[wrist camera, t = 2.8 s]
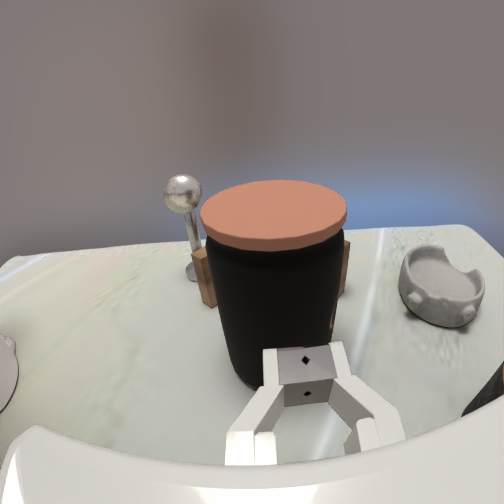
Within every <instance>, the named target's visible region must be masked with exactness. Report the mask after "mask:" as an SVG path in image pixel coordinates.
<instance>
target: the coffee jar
mask: <svg viewBox="0 0 504 504" xmlns="http://www.w3.org/2000/svg"><path fill="white" fill-rule="evenodd" d="M346 216H347V207H346V201H344V199H343V198H342V197H341V196H340V195H339V194H338V193H336V192H334V191H332V190H331V189H329V188H327V187H324V186H320V185H317V184H313V183H309V182H302V181H295V180H268V181H257V182H252V183H247V184H242V185H238V186H235V187H232V188H229V189H227V190H223V191H222V192H220V193H218V194H216V195H214V196H212V197H211V198H210V199H209V200H208V201H207V202H205V203H204V204H203V205H202V209H201V212H200V219H201V223H202V226H203V228H204V229H205V231H206V234H207V239H206V247H205V248H206V253H207V258H208V263H209V268H210V273H211V278H212V282H213V287H214V291H215V296H216V301H217V305H218V309H219V314H220V318H221V322H222V327H223V331H224V335H225V339H226V343H227V347H228V351H229V355H230V359H231V362H232V364H233V367H234V369H235V371H236V373H237V374H238V375H239V376H240V377H241V378H242V379H243V380H244V381H245V382H247V383H249V384H251V385H253V386H255V387H257V388H259V387H260V386H264V374H263V349H275V348H290V347H303V346H307V345H315V344H322V343H331V338H332V332H333V326H334V320H335V314H336V308H337V301H338V295H339V288H340V280H341V272H342V264H343V255H344V232H343V229H342V228H341V227H342V226H343V225H344V223H345V222H346Z"/></svg>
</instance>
